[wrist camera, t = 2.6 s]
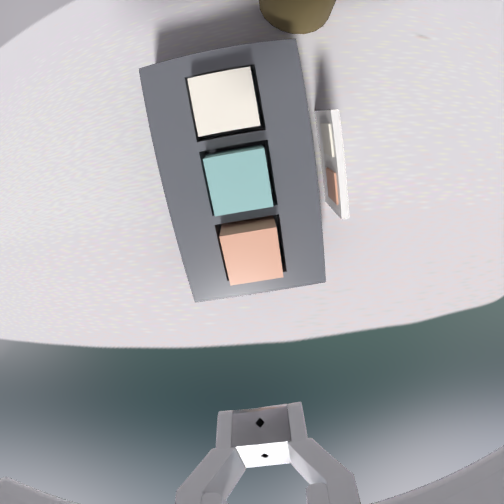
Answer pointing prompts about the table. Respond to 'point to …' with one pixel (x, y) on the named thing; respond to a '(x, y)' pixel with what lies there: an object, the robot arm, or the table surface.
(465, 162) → the table surface
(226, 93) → the cream key
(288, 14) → the cork
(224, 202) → the teal key
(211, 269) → the keypad
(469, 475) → the robot arm
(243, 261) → the terracotta key
